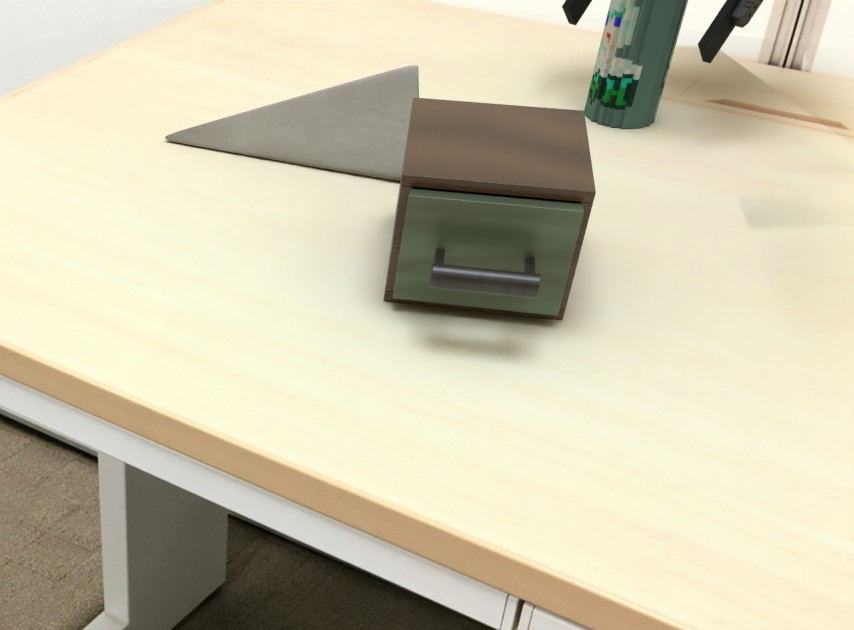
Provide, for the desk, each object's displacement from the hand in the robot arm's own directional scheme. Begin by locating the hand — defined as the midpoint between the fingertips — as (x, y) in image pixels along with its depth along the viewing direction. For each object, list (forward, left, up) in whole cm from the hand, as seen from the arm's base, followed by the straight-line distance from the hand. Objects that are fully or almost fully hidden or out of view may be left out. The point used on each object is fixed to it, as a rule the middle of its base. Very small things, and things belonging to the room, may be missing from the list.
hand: (633, 34), depth 112 cm
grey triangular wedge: (+24, +21, -8) cm, 33 cm away
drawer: (+6, +38, -7) cm, 39 cm away
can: (-1, -1, -8) cm, 8 cm away
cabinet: (+6, +34, -8) cm, 36 cm away
